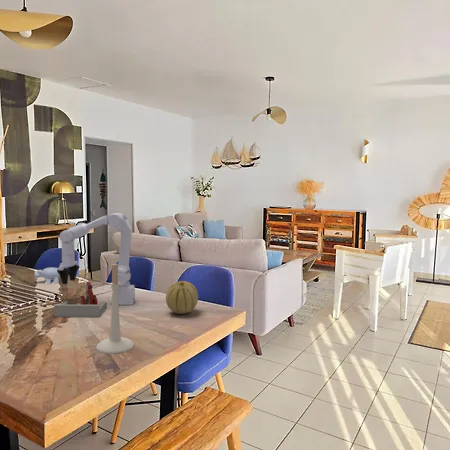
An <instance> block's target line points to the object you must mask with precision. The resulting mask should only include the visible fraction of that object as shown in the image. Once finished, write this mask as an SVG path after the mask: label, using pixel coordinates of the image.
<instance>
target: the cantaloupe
mask: <svg viewBox="0 0 450 450" xmlns="http://www.w3.org/2000/svg"><path fill="white" fill-rule="evenodd" d="M198 301H199V293H198V289H197V288H196V286H195V285H194V284H193V283H191V282H189V281H186V280H180V281H176V282H174V283H172V284H171V285H170V286H169V287H168V290H167V292H166V295H165V303H166V306H167V307H168V309H169V310H170V311H172V312H173V313H175V314H179V315H184V314H188V313H191V312H192V311H194V309H196V307H197V305H198Z"/></svg>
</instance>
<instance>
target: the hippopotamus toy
mask: <svg viewBox="0 0 450 450" xmlns="http://www.w3.org/2000/svg"><path fill="white" fill-rule="evenodd" d="M58 269H59V267H51V266H50V267H46V268H44V269H38V270H37V272H35V273H34V279H38V278H44V285H50V284H52V285H53V284H59V283H60V280H59V279H60V278H59V277H60V275H59V273H58V272H57V270H58Z"/></svg>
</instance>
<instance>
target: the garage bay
mask: <svg viewBox="0 0 450 450" xmlns="http://www.w3.org/2000/svg"><path fill="white" fill-rule="evenodd" d="M107 304H108V303H107V301H103V302H101V304H97V305H82V304H69V301H67V300H65V301H64V302H63V303H61V304H59V303H58V304H54V306H53V307H54V309H53V310H54V313H53V314H54V316H53V317H55V318H72V317H73V318H99V317H101V316H102V314H103V313H104V312H105V310H107V308H108V307H107V306H108V305H107Z"/></svg>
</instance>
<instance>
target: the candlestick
mask: <svg viewBox="0 0 450 450" xmlns="http://www.w3.org/2000/svg"><path fill="white" fill-rule="evenodd" d="M119 284H120V283H119V282H118V263H112V264H111V282H110V283H109V285H111V286H110V287H111V290H112V293H111V312H110V313H111V314H110V332H109V335H110V336H109V337H108V338H105V339H103V340H100V342H98V343H97V345H96V351H97V352H99V353H102V354H107V355H115V354H116V355H117V354H123V353H126V352H129V351H130V350H132V349H134V346H135V343H134V341H132V339H129V338H127V337H124V336H121V325H120V324H121V323H120V306H119V303H118V292H117V291H118V288H119Z"/></svg>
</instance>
